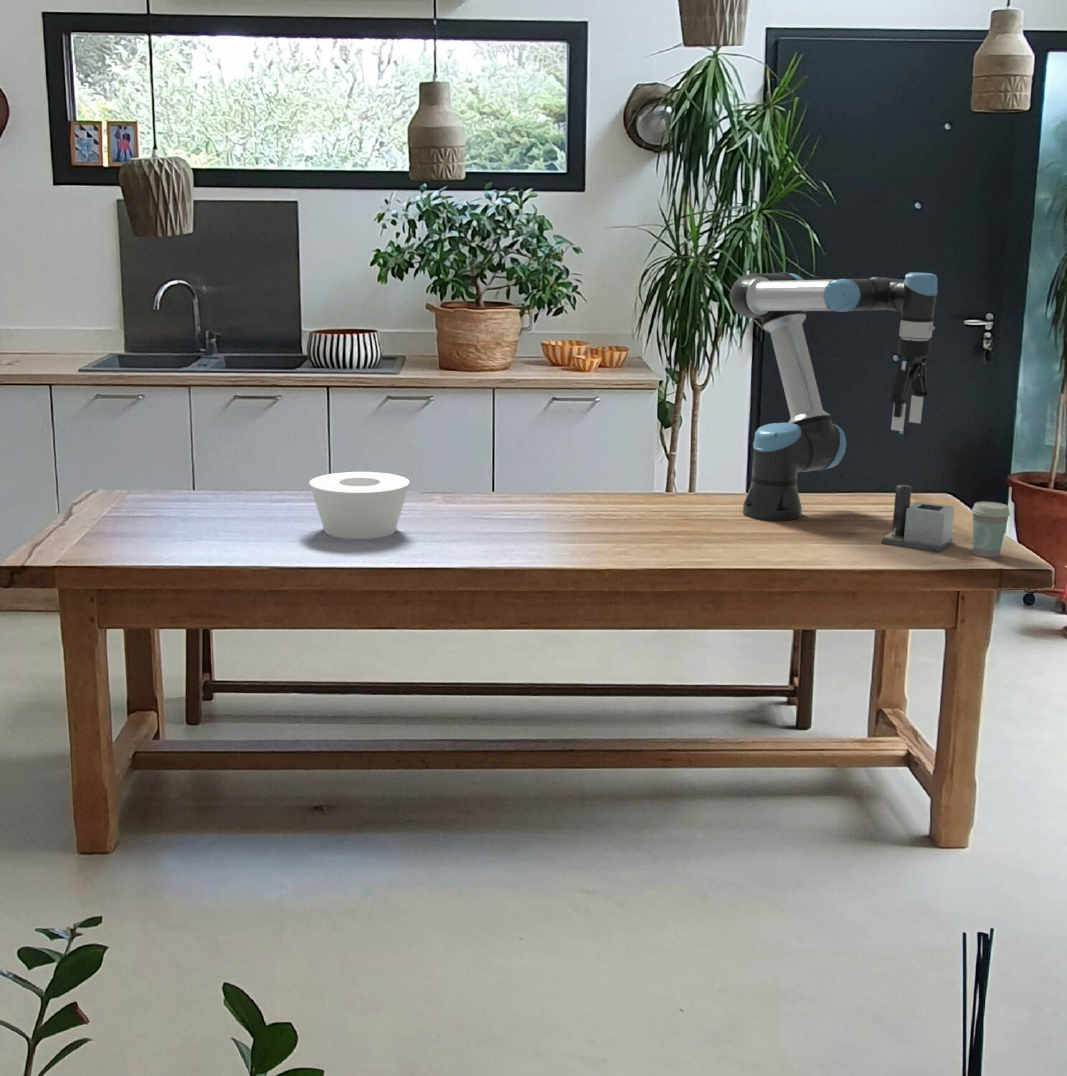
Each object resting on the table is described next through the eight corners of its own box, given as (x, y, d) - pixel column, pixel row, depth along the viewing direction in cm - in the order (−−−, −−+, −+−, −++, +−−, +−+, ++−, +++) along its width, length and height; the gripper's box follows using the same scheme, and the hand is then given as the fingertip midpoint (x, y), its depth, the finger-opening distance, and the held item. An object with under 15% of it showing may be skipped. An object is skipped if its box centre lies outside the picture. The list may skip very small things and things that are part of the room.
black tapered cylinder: (904, 537, 325) (909, 488, 322) (890, 535, 327) (894, 486, 324) (908, 534, 328) (913, 485, 325) (894, 532, 330) (898, 484, 327)
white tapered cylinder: (428, 526, 332) (428, 479, 329) (372, 547, 311) (372, 497, 308) (348, 514, 343) (348, 468, 340) (289, 533, 322) (288, 484, 319)
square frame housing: (881, 543, 325) (884, 506, 322) (894, 534, 334) (897, 498, 331) (939, 552, 318) (943, 514, 315) (951, 542, 327) (955, 505, 325)
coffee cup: (961, 550, 320) (966, 500, 317) (996, 550, 321) (1001, 500, 318) (975, 559, 312) (981, 509, 309) (1011, 559, 313) (1017, 509, 310)
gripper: (914, 344, 310) (905, 435, 315) (946, 335, 330) (936, 421, 336) (882, 341, 314) (873, 431, 319) (915, 333, 334) (907, 417, 340)
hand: (906, 426), depth 327 cm, fingers open, 13 cm apart
